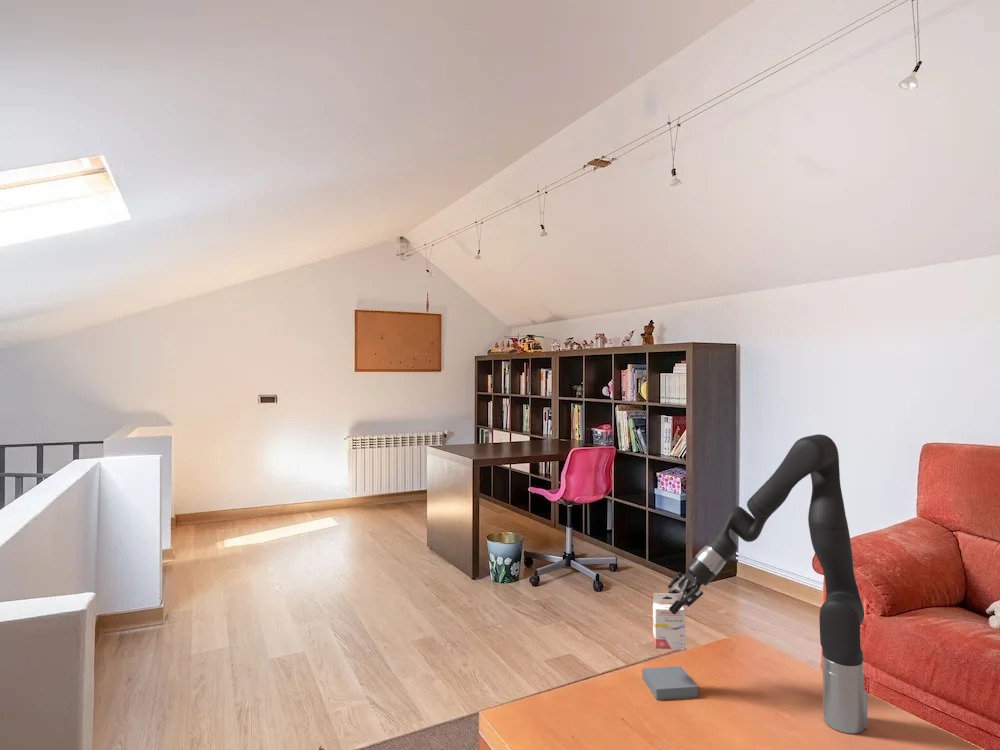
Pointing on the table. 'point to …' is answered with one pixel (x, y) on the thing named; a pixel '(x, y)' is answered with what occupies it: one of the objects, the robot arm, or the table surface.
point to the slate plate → (669, 683)
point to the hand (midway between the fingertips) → (667, 607)
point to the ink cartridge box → (668, 623)
